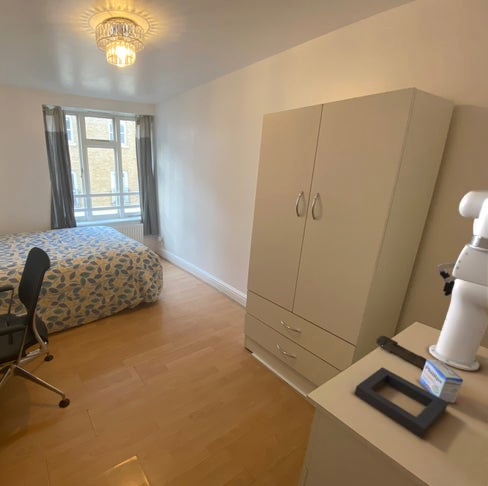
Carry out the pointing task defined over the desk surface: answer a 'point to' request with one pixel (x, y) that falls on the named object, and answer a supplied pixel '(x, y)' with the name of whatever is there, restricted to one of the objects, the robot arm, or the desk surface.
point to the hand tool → (401, 351)
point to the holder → (393, 411)
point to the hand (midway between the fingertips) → (470, 301)
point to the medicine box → (441, 380)
